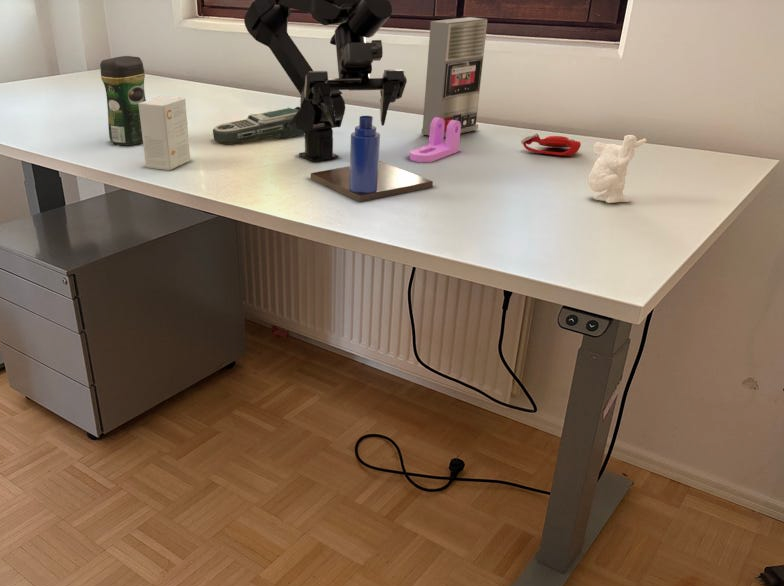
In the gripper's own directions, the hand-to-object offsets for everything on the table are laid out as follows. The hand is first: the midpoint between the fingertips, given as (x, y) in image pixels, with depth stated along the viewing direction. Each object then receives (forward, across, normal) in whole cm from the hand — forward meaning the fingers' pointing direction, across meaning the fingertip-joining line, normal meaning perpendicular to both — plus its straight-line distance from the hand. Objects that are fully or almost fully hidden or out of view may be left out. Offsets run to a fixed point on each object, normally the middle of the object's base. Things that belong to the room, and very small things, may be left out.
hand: (358, 124), depth 138 cm
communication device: (-21, -17, +38) cm, 46 cm away
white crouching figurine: (+18, +44, -2) cm, 48 cm away
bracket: (-6, +20, +22) cm, 31 cm away
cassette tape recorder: (-20, +29, +36) cm, 51 cm away
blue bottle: (+12, 0, +3) cm, 12 cm away
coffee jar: (-20, -47, +37) cm, 63 cm away
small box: (-5, -37, +22) cm, 43 cm away
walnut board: (+7, +3, +9) cm, 12 cm away
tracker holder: (-6, +46, +23) cm, 52 cm away
